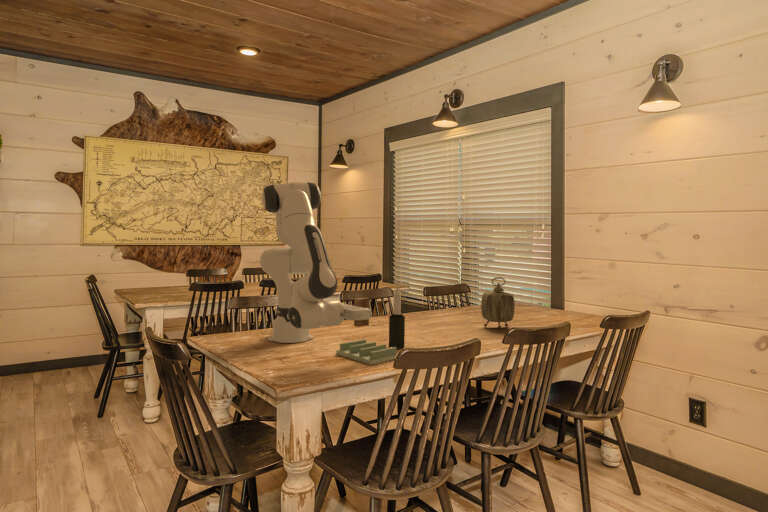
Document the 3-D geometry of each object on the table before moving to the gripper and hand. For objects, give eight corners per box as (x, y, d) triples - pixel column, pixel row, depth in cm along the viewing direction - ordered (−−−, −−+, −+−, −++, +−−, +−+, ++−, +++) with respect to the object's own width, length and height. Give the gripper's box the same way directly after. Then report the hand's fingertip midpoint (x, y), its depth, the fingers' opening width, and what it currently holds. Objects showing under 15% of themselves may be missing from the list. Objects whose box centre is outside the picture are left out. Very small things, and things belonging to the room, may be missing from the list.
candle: (396, 345, 198) (397, 284, 197) (405, 347, 194) (406, 285, 193) (387, 347, 194) (388, 285, 193) (396, 349, 191) (397, 286, 190)
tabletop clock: (508, 326, 243) (509, 276, 242) (515, 329, 234) (516, 278, 233) (480, 326, 241) (481, 276, 240) (486, 330, 232) (487, 278, 231)
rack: (371, 365, 167) (371, 353, 167) (336, 354, 182) (336, 343, 182) (400, 358, 177) (400, 347, 177) (364, 348, 192) (364, 338, 191)
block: (358, 326, 174) (358, 299, 174) (354, 325, 176) (354, 298, 176) (368, 325, 178) (369, 298, 177) (364, 324, 179) (364, 297, 179)
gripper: (351, 307, 160) (382, 303, 169) (316, 300, 175) (346, 297, 184) (351, 326, 160) (382, 321, 170) (316, 317, 175) (346, 313, 185)
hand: (363, 309), depth 177 cm, fingers closed on block, 2 cm apart
